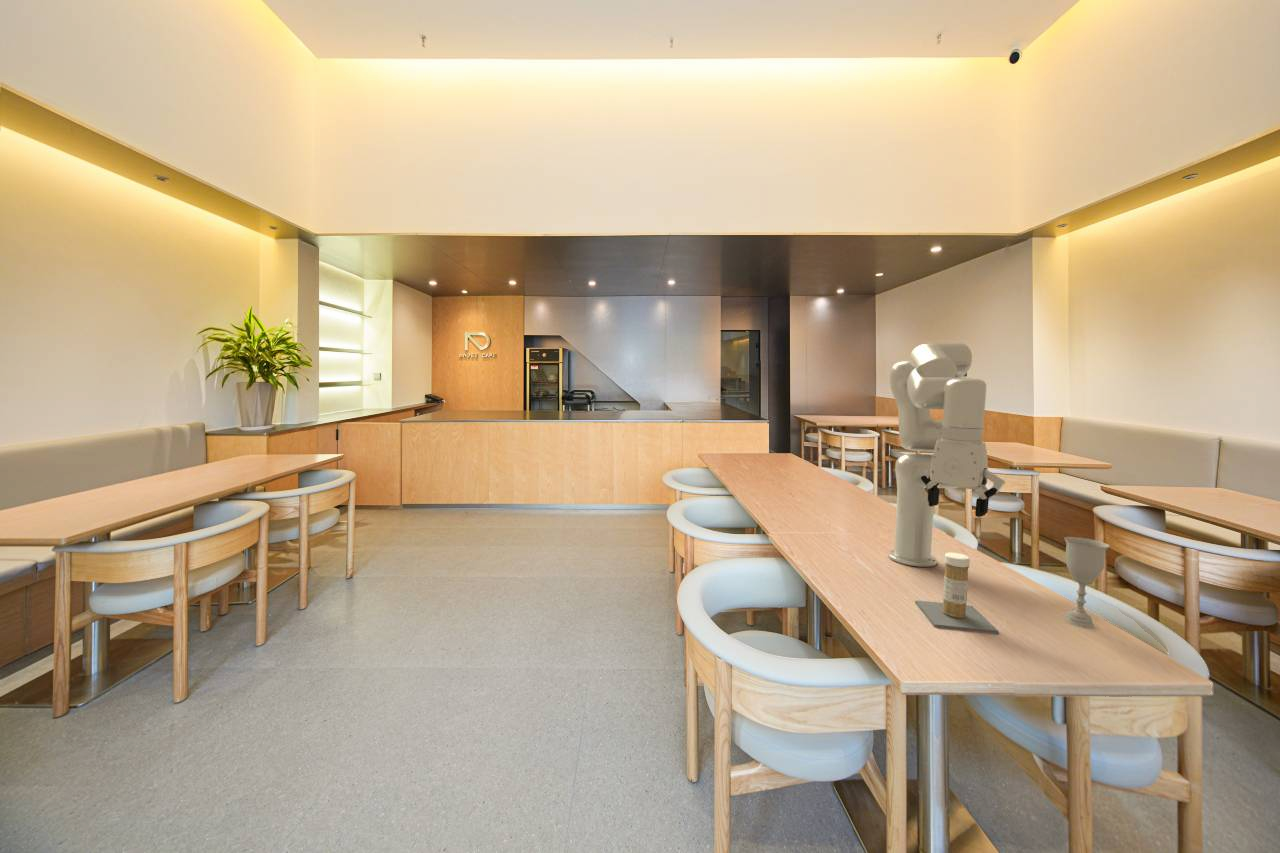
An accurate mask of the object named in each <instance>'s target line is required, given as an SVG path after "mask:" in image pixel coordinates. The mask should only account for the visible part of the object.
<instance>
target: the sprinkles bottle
mask: <svg viewBox="0 0 1280 853" xmlns="http://www.w3.org/2000/svg"><path fill="white" fill-rule="evenodd" d="M970 560H971V559H970V557H969V556H968V555H965V554H964V553H959V552H946V553H945V555H944V564H945V566H944V576H943V593H942V595H943V600H942V603H943V609H942V611H943V613H944V614H946V615H948V616H951V617H954V618H964V617H966V605H967V600H968V582H969V581H968V577H969V568H970Z"/></svg>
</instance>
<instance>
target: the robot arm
mask: <svg viewBox="0 0 1280 853" xmlns="http://www.w3.org/2000/svg"><path fill="white" fill-rule="evenodd" d="M972 362H973V354H972V351H971V349H970V348H969V346H967V345H966V343H962V342H929V343H923V344H920V345H918V346H916V347H915V348H913V350H912V351H911V353H910V354H909V360H904V361H899V362H897V363H894V365H892V367H891V369H890V372H889V384H890V390H891V392H892V393H891V394H892V395H893V398H894V401H895V403H896V407H897V411H898V412H897V413H898V414H897V416H898V435H899V437H898V438H899V443H900V446H901V447H902V448H903V449H904V450H907V451H912V452H913V451H915V452H927V453H928V452H931V453H932V454H927V453H925V454H923V453H909V454H904V455H901V456H899V457H898V458H897V459H896V461H895V465H894V468H895V471H894V472H895V478H896V479H895V480H896V488H897V489H896V510H895V527H894V528H895V529H894V530H895V531H894V546H893V547H894V548H893V549H891V550H889V551H888V553H887V555H888V558H889V559H891V560H893V561H894V562H897V563H899V564H901V565H902V564H903V565H907V566H912V567H921V568H922V567H923V568H924V567H925V568H927V567H928V568H929V567H934V566H936V565H937V564H938V561H937V560H938V559H937V558H936V557H935V556H933V555H932V544H933V543H932V542H933V541H932V540H933V528H934V526H933V524H934V509H935V506H938V505H939V502H940V492H941V491H940V489H949V490H950V489H951V490H952V489H959V488H962V489H968V490H974V492H975V494H977V496H978V498H976V502H975V511H974V512H975V514H974V516H975V518H976V517H977V518H981V517H983V516H985V515H986V514H987V513H988V512H989V502H990V498H992V497H993V496H994V495H996V494H998V493H999V492H1000V490H1001V489H1002V488H1003V487H1004V486H1005V484H1006V481H1005V480H1004V479H1003V478H1001V477H1000V476H998V475H996V474H995V473H993V472H991V471H990V470H989V466H988V465H989V463H988V462H989V460H988V459H989V458H988V452H987V446H986V442H983V436H984V420H985V411H986V410H985V409H986V397H987V384H986V381H984V380H982V379H979V378H978V379H977V378H973V377H972V378H971V377H964V376H965V375H966V374H967V373H968V371H969V370H970V368H971V366H972ZM931 410H943V412H942V414H943V415H942V419H932V416H931ZM988 480H989V482H992V483H993V485H992V486H991V487H990V488H989V489H988V488H987V486H986V485H987V483H988ZM925 489H927V491H926V490H925Z"/></svg>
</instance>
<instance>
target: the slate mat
mask: <svg viewBox="0 0 1280 853" xmlns="http://www.w3.org/2000/svg"><path fill="white" fill-rule="evenodd" d="M914 601H915V602H914V603H915V605H916V606H917V607H918V609H919V610H921V612H922V613H923V614H924V616H925V617H926V618H927V619H928V621H929V622H930V624H932V626H933V627H934V628H939V629H940V628H941V629H949V630H957V631H968V632H979V633H987V634H997V635H998V634H999V629H997V628H996V627H995V626H994V625H993V624H992V623H991V622H990V621H989V620H988V619H987V618H986V617H985V616H983V614H982V613H981V612H980V611H978V610H977V609H976V607H974V606H973V605H968V604H966V617H964V618H954V617H951V616H948V615H946V614H944V613H943V611H942V609H943V602H935V601H927V600H917V599H916V600H914Z"/></svg>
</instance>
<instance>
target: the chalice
mask: <svg viewBox="0 0 1280 853" xmlns="http://www.w3.org/2000/svg"><path fill="white" fill-rule="evenodd" d="M1063 540H1064V541H1065V543H1066V544H1065V545H1066V546H1065V547H1066V548H1065V559H1064V560H1065V563H1066V567H1067V569H1068V571H1069V573H1070V576H1071V577H1072V579H1073V581H1074V582H1076V583H1078V588H1077V590H1076V593H1077V595H1078V596H1077V598H1075V601H1076V604H1077V605H1076V608H1074V609H1070V610H1069V611H1068V612H1067V613H1066V614H1065V616H1064V617H1063V620H1064V622H1067V623H1068V624H1070V625H1073V626H1076V627H1080V628H1084V629H1085V628H1086V629H1094V628H1096V626H1094V625H1095V624H1094V622H1093V619H1092V616H1091V614H1089V613H1088V612H1087V611H1086V610H1084V606H1085V604H1086V603H1087V600H1085V596H1086V595H1087V592H1086V586H1089V585H1092V584H1093V583H1094V582H1095V581H1096V579H1097V578H1099V576H1101V573H1102V572H1103V571H1104V568H1105V559H1106V551H1107V550H1108V549H1109V547H1110V545H1109V544H1108V543H1105V542H1103V541H1099V540H1096V539H1090V538H1085V537H1077V536H1065V537H1063Z"/></svg>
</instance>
